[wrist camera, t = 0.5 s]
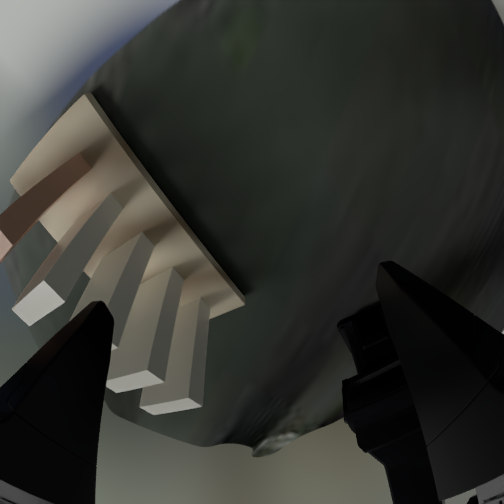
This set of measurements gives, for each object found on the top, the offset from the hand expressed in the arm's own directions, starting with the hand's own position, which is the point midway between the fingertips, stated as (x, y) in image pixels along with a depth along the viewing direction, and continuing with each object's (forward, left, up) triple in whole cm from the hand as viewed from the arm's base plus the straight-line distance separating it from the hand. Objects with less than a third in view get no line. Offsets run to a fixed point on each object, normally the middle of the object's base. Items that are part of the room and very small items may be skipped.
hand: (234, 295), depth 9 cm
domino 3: (-2, +12, -13) cm, 17 cm away
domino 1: (+6, +12, -13) cm, 18 cm away
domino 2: (+2, +12, -13) cm, 17 cm away
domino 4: (-6, +12, -13) cm, 18 cm away
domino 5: (-10, +12, -13) cm, 20 cm away
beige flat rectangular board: (-1, +12, -14) cm, 18 cm away
